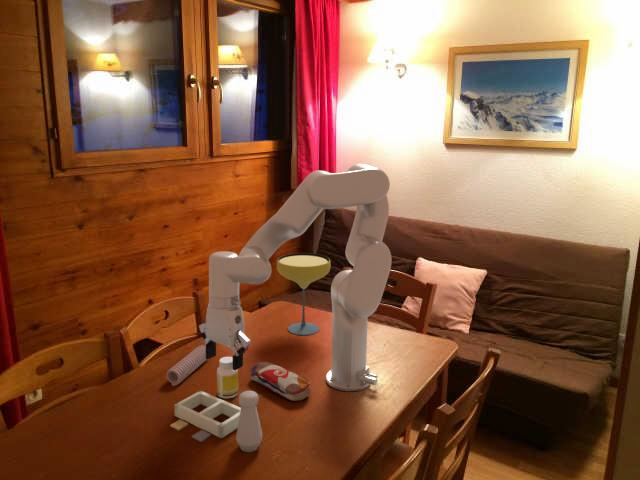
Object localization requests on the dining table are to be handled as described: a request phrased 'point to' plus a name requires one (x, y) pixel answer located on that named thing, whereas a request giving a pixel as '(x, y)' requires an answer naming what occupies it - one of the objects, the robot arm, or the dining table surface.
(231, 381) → the supplement bottle
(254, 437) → the salt shaker
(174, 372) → the coil
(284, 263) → the cocktail glass
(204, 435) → the slate tag
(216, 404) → the socket block
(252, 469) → the dining table surface
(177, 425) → the brass tag
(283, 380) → the pencil case
